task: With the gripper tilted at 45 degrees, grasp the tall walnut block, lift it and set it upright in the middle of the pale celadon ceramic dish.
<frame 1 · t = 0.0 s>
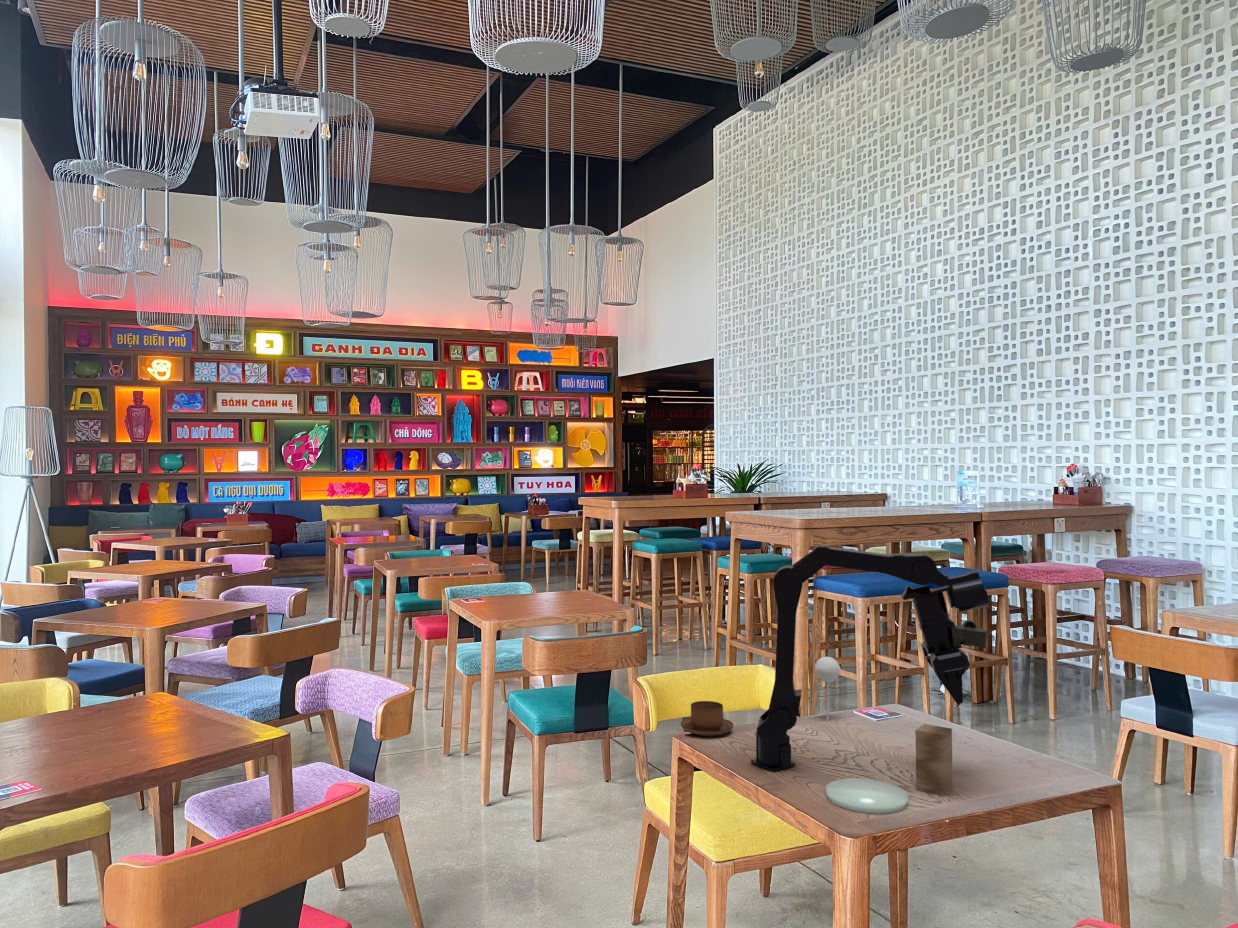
hand: (955, 697, 158), 15 cm above the table, tool pointing down, fingers open, 9 cm apart
walnut block: (934, 789, 152), on the table
dish: (866, 798, 148), on the table
cup and saucer: (706, 732, 189), on the table
lollipop: (827, 720, 199), on the table
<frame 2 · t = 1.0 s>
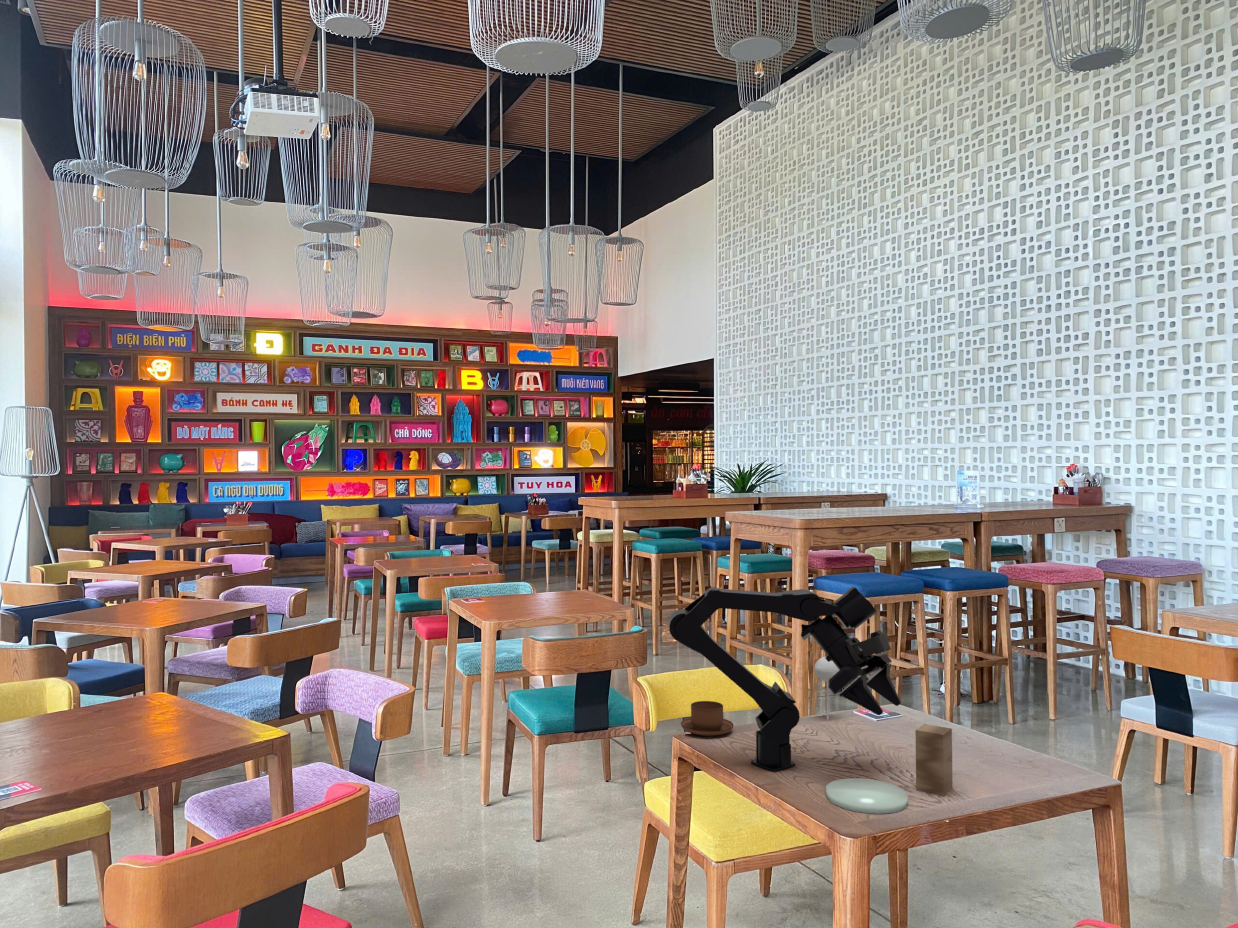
hand: (890, 709, 158), 13 cm above the table, tool tilted 45°, fingers open, 9 cm apart
nothing on the table moved.
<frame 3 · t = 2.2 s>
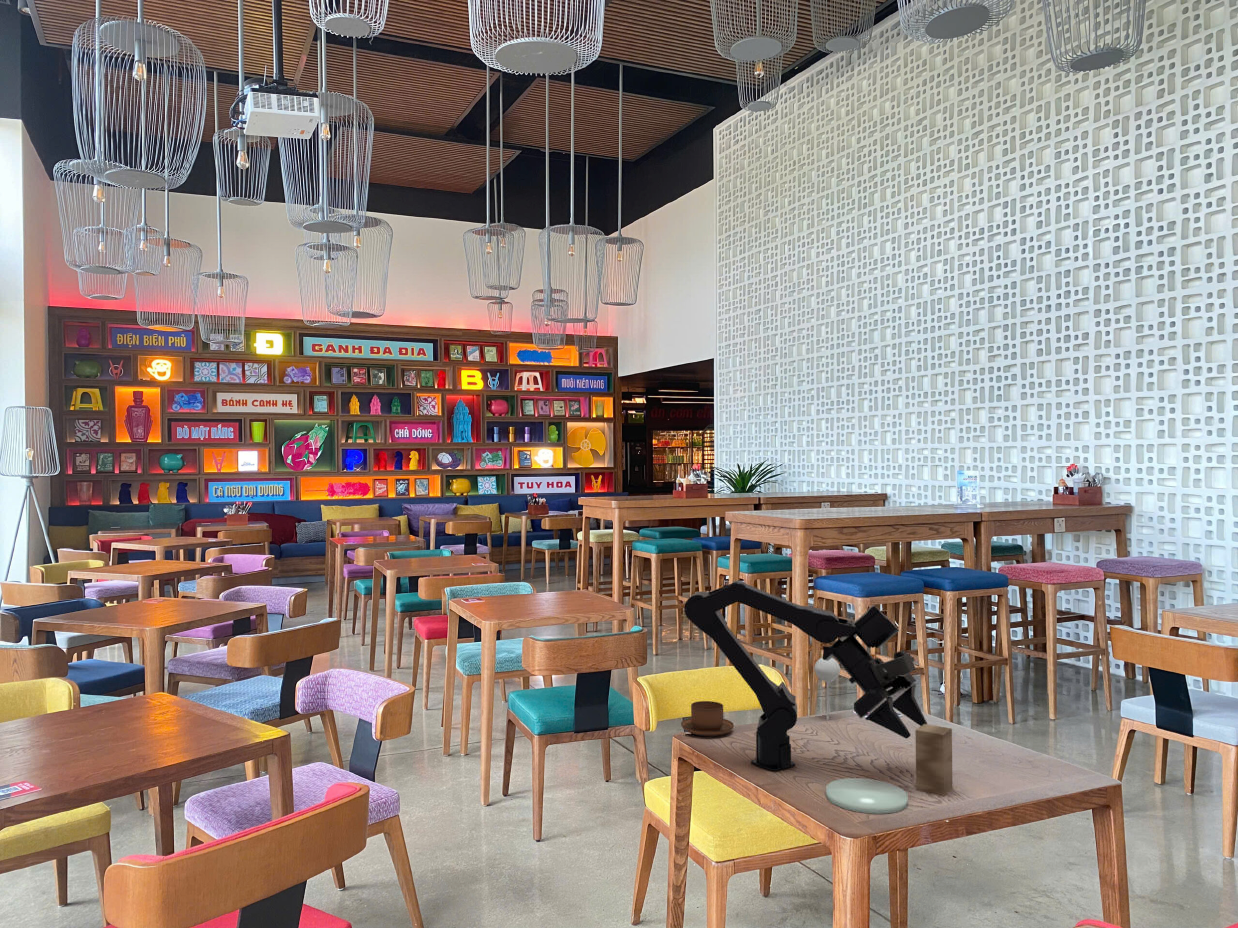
hand: (917, 731, 155), 10 cm above the table, tool tilted 45°, fingers open, 9 cm apart
nothing on the table moved.
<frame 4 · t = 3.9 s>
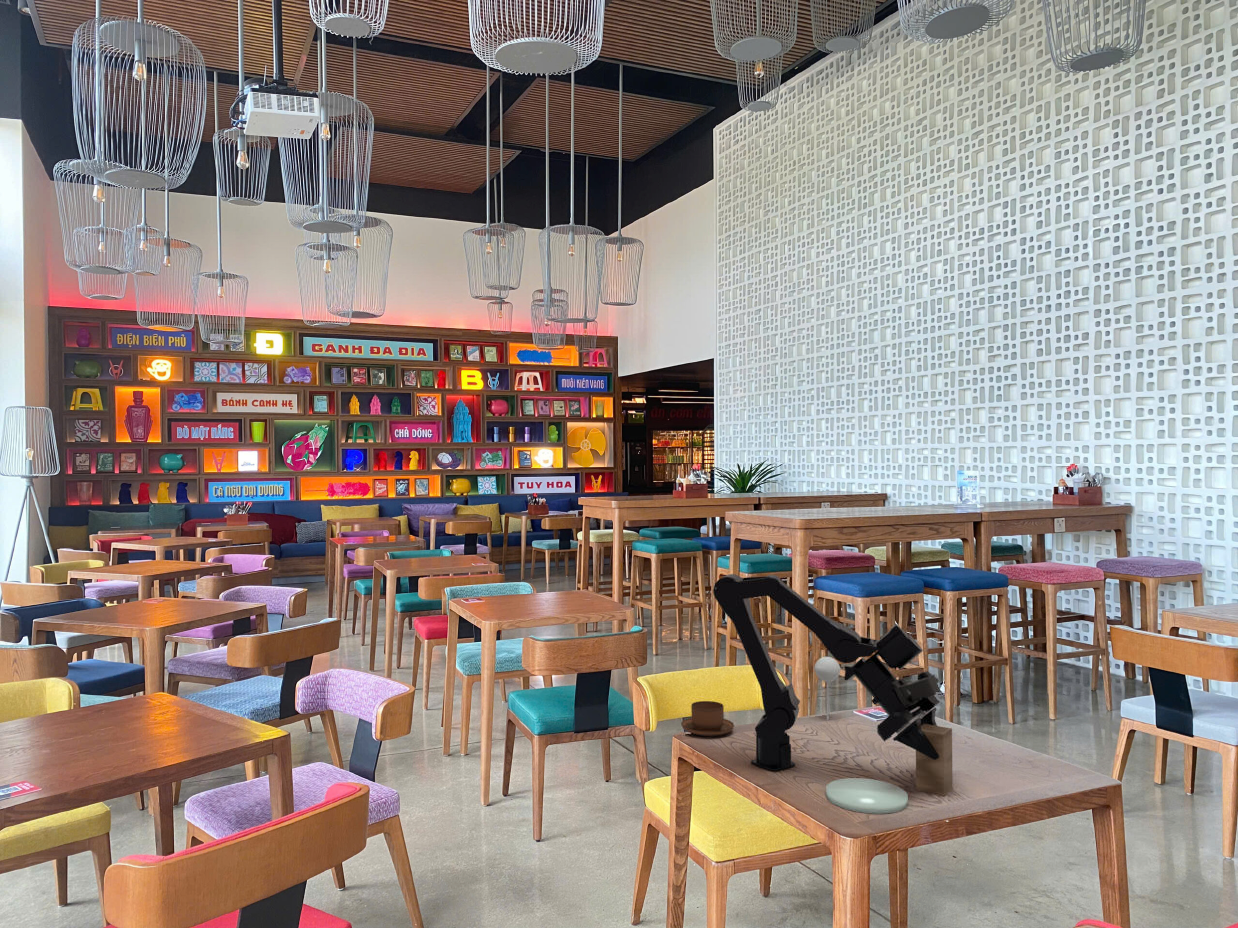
hand: (941, 754, 152), 7 cm above the table, tool tilted 45°, fingers closed on walnut block, 5 cm apart
walnut block: (934, 789, 152), on the table, touching gripper
everything else where it was.
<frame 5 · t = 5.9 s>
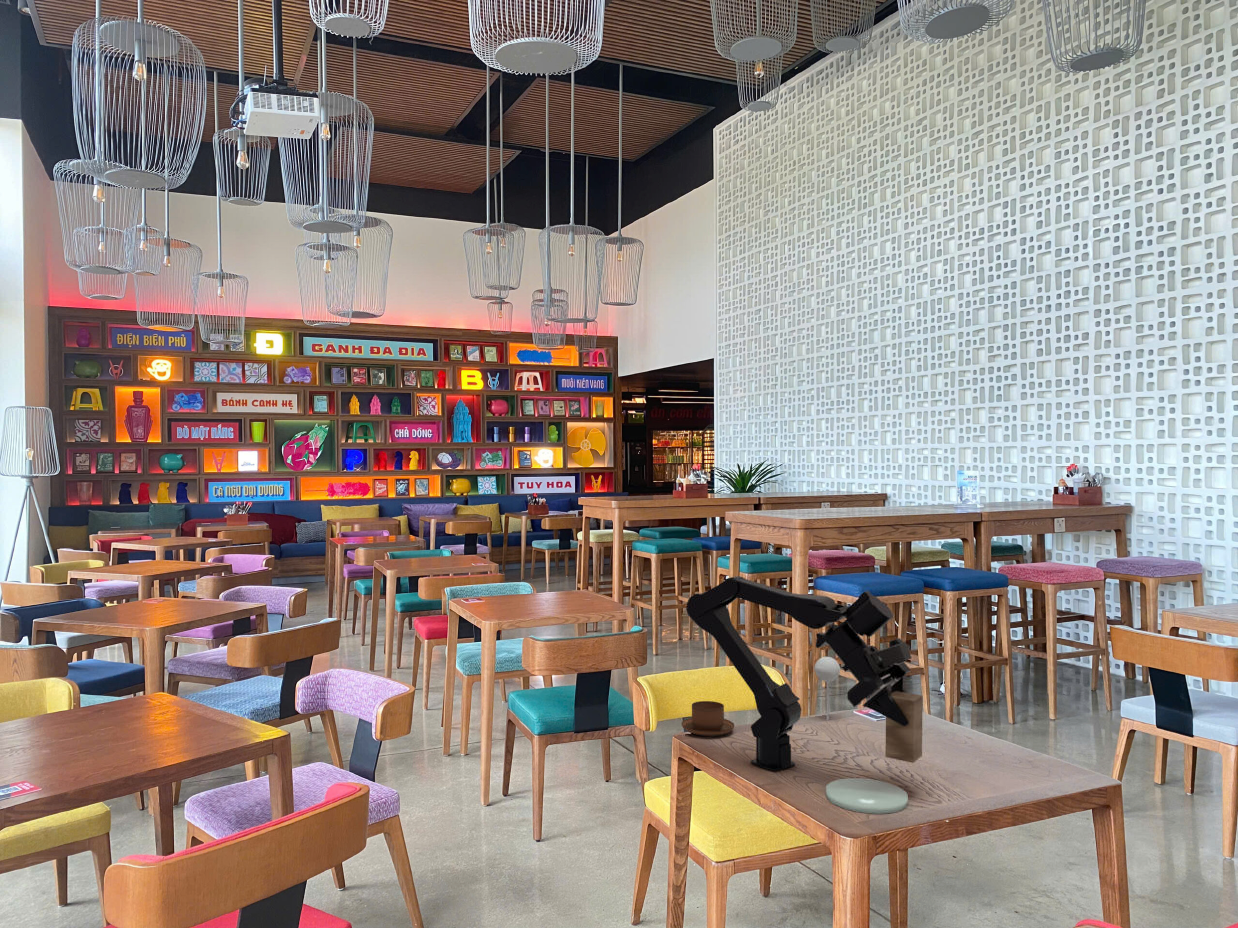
hand: (911, 721, 150), 13 cm above the table, tool tilted 45°, fingers closed on walnut block, 5 cm apart
walnut block: (903, 756, 151), point 7 cm above the table, touching gripper
everything else where it was.
when the fingers open (9 cm above the table, at t = 8.1 s): walnut block stays where it is, resting on dish.
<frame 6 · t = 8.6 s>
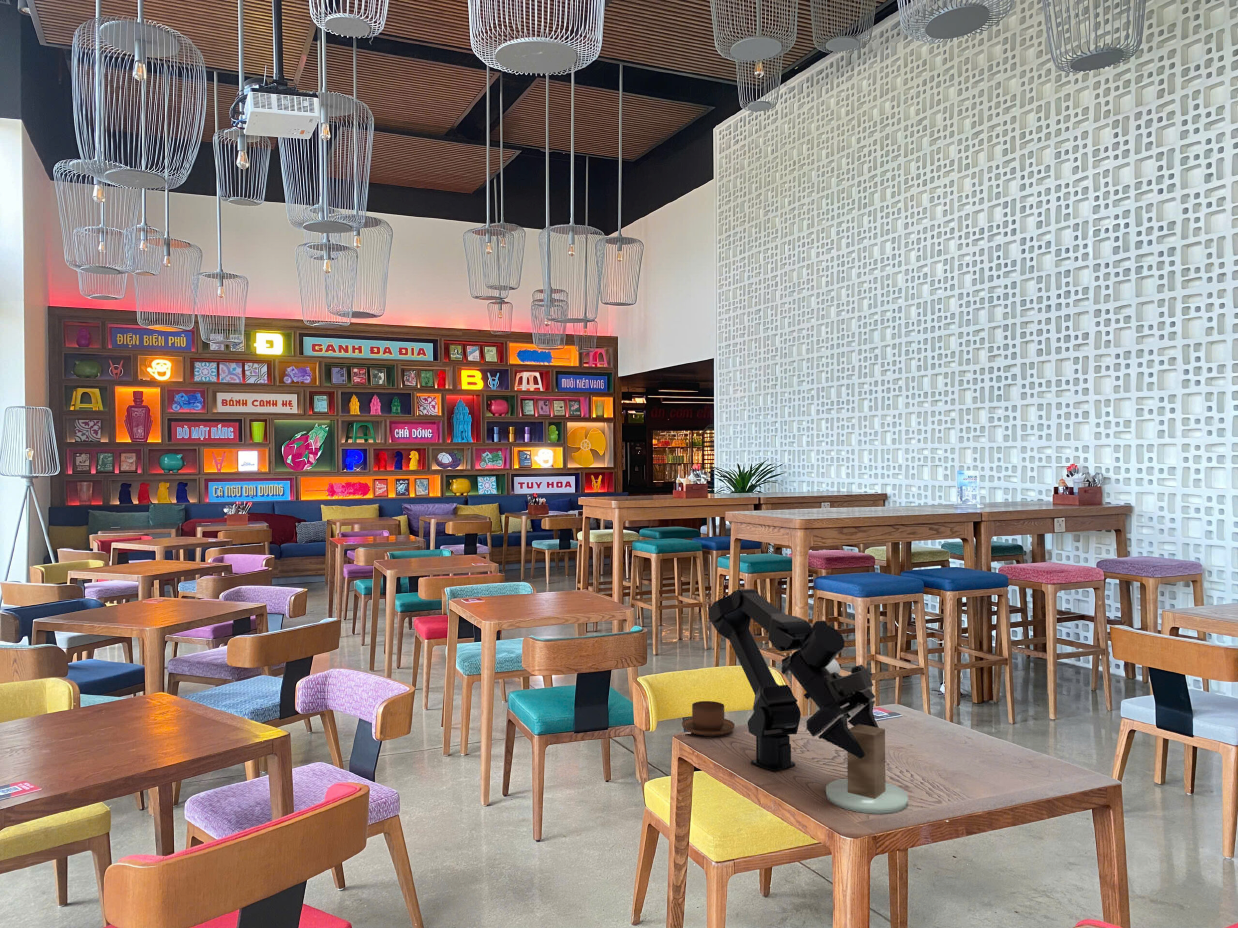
hand: (873, 750, 147), 9 cm above the table, tool tilted 45°, fingers open, 9 cm apart
walnut block: (866, 791, 148), point 1 cm above the table, touching dish
everything else where it was.
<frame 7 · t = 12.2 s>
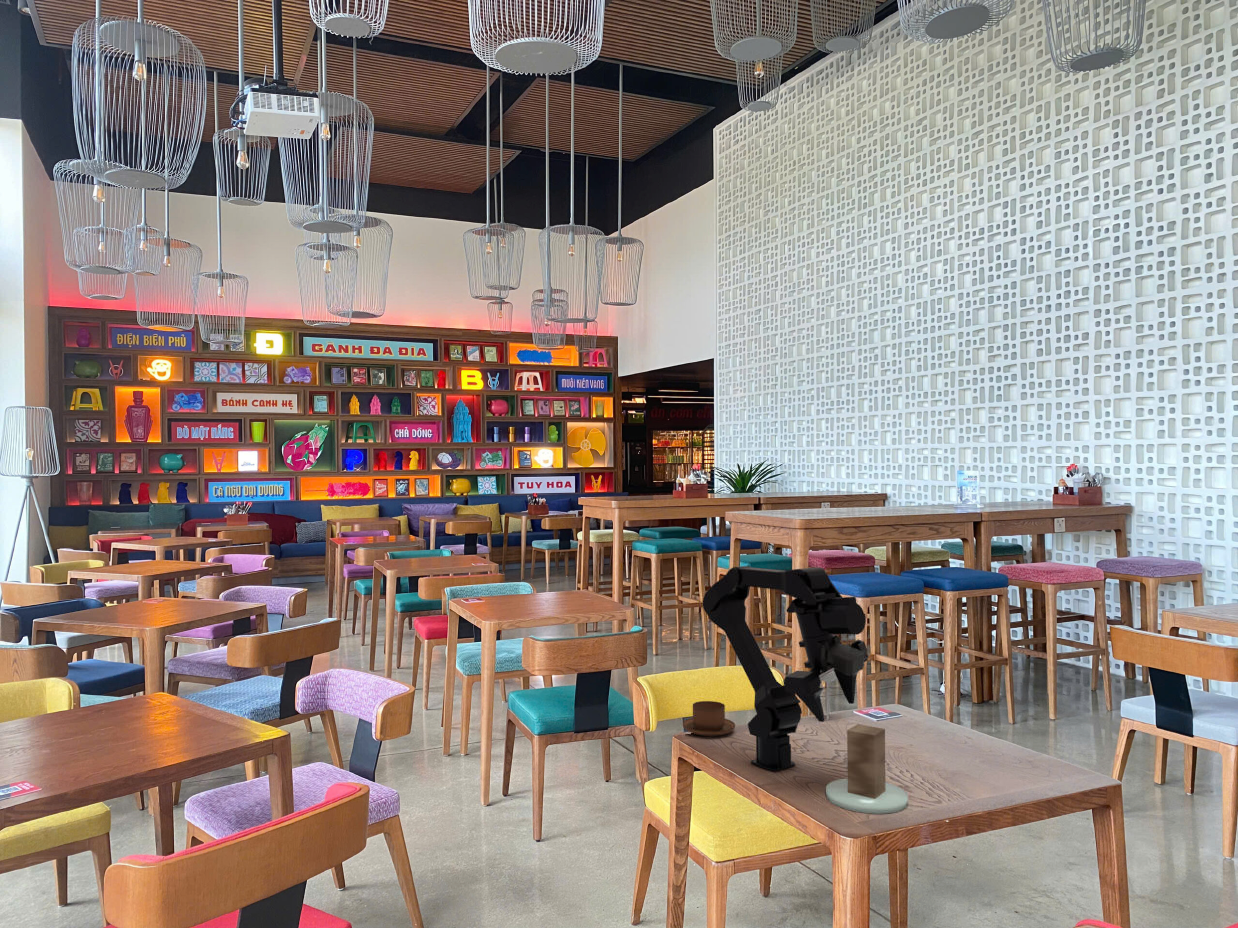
hand: (836, 712, 158), 13 cm above the table, tool pointing down, fingers open, 9 cm apart
nothing on the table moved.
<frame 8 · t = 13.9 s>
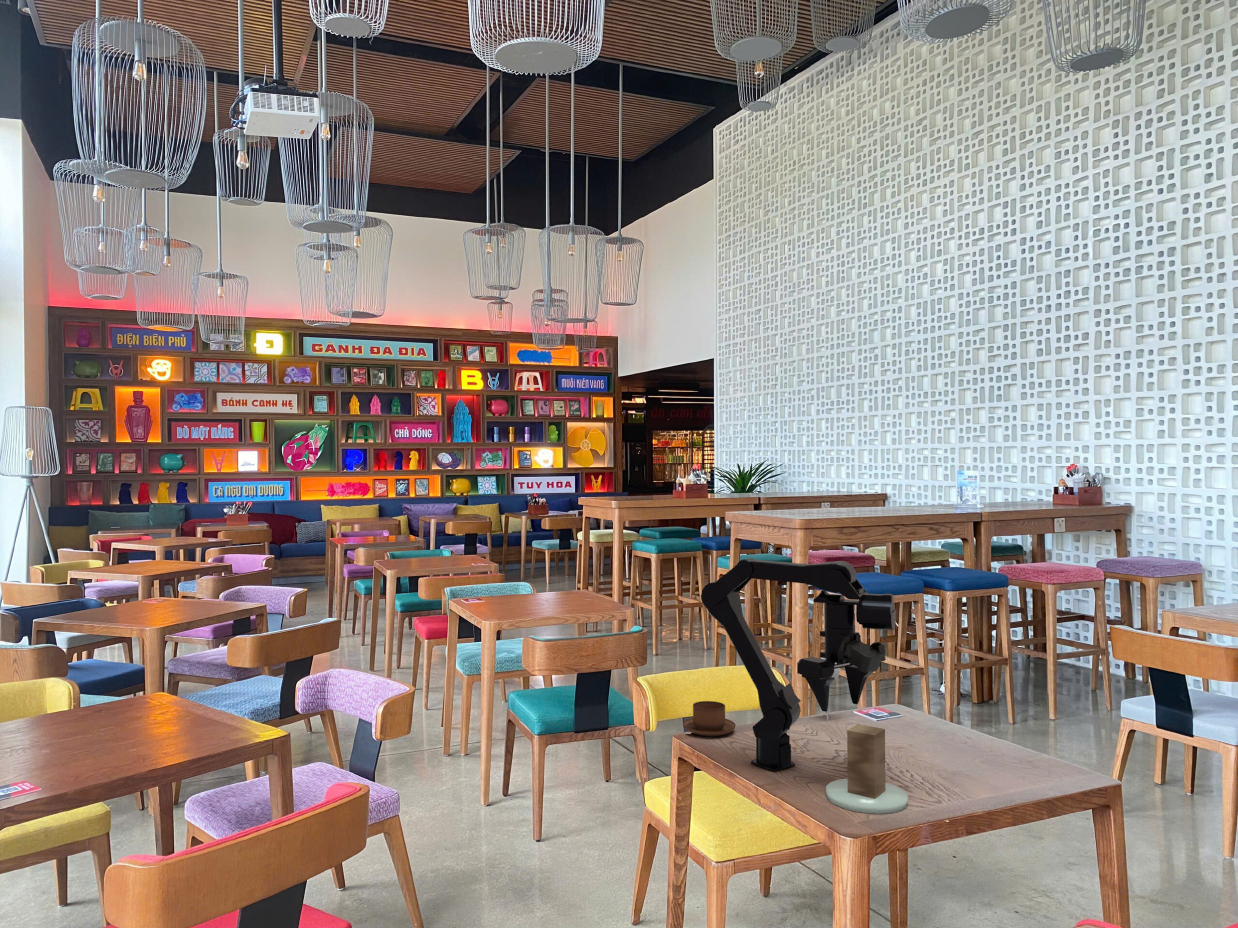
hand: (840, 707, 160), 13 cm above the table, tool pointing down, fingers open, 9 cm apart
nothing on the table moved.
at the end: walnut block inside the target area on the dish (0.1 cm from its centre), point 1.2 cm above the dish's base; walnut block tilted 0°; walnut block touching dish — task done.
